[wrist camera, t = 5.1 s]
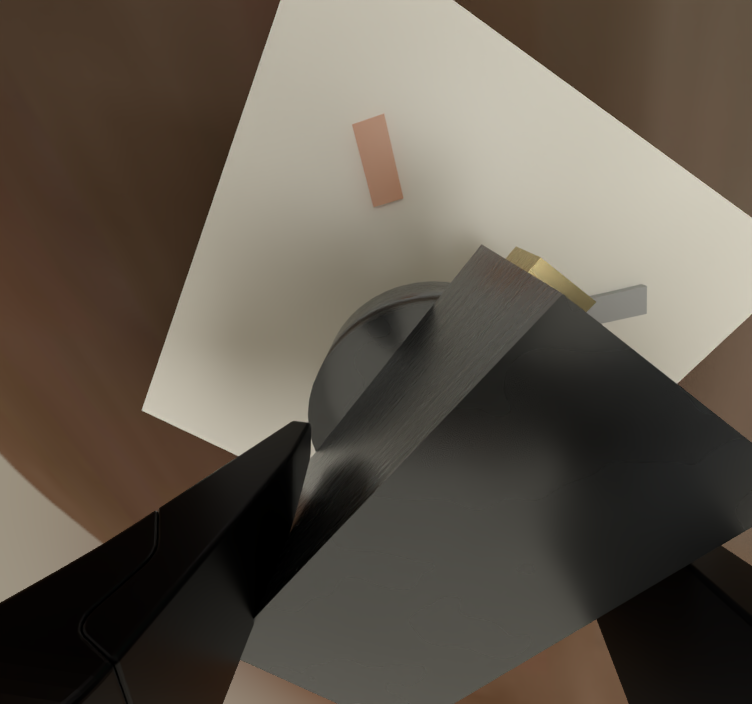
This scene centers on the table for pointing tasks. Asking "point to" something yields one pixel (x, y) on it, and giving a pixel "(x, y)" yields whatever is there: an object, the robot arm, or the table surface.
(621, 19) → the table surface
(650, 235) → the post plate
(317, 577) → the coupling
